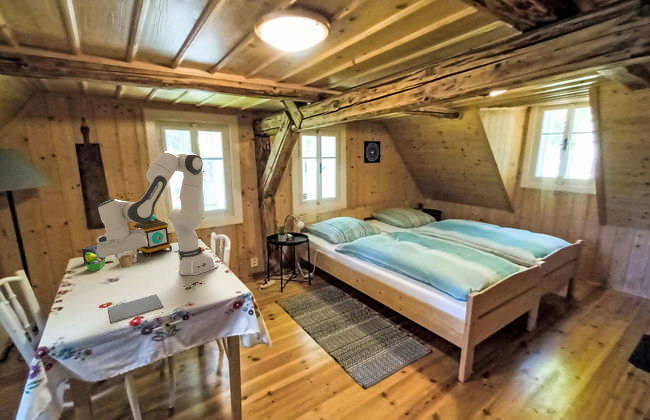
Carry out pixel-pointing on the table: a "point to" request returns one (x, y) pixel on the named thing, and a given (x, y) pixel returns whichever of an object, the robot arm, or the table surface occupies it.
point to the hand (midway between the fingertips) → (128, 259)
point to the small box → (92, 250)
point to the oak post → (126, 259)
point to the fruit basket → (94, 262)
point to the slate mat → (134, 308)
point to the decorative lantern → (154, 235)
